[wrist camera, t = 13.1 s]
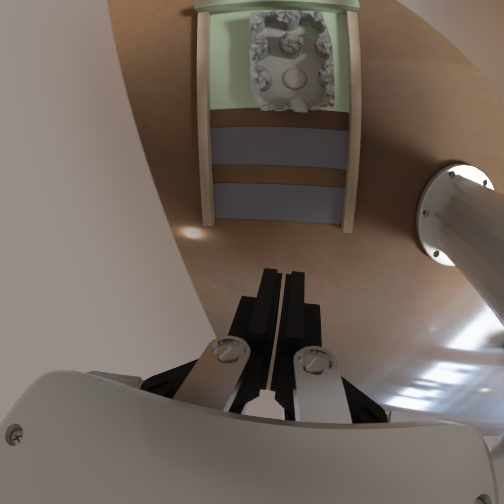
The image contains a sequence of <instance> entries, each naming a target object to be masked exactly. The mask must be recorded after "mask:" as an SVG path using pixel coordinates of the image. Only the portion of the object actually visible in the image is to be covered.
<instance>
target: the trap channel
mask: <svg viewBox="0 0 504 504" xmlns="http://www.w3.org/2000/svg"><path fill="white" fill-rule="evenodd" d="M358 9H359V0H201V1H195V2H194V10H195V11H196V12H197V13H198V28H197V118H198V148H199V170H200V188H201V203H202V217H203V226H212V225H213V224H214V223H215V218H214V200H213V178H212V155H211V119H210V15H215V14H223V13H233V12H245V11H264V10H295V11H314V12H326V13H336V14H344V15H345V17H346V29H347V43H348V64H349V133H348V156H347V172H346V185H345V197H344V208H343V217H342V226H341V229H342V232H343V233H352V229H353V221H354V213H355V204H356V195H357V184H358V172H359V158H360V139H361V59H360V42H359V29H358V18H357V11H358Z"/></svg>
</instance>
